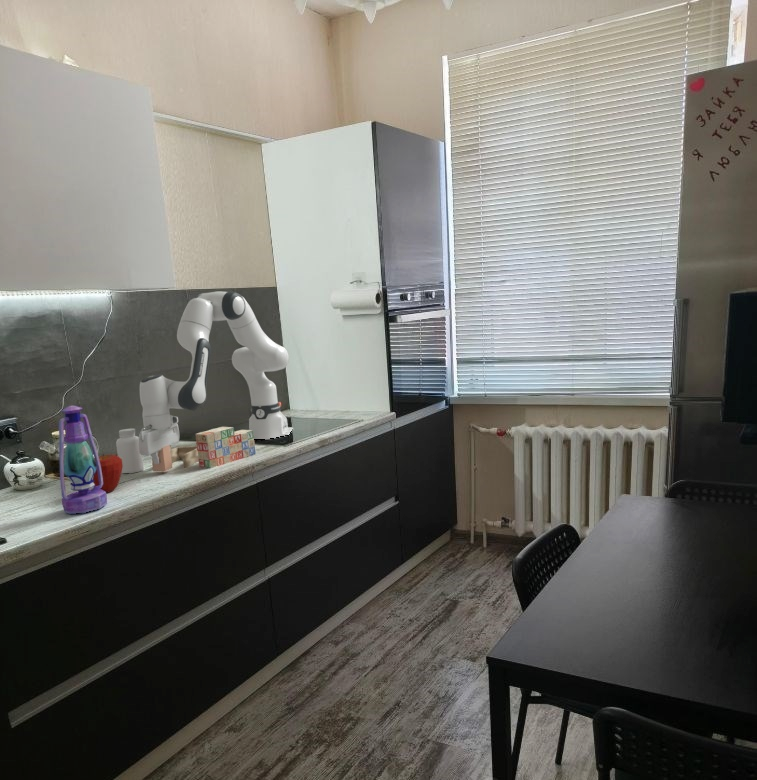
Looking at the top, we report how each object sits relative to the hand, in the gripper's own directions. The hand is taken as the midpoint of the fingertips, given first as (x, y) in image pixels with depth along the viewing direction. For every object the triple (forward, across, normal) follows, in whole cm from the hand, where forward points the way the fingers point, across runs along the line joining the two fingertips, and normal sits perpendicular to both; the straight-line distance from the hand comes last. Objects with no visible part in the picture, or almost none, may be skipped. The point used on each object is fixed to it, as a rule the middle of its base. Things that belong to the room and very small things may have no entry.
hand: (162, 461), depth 210 cm
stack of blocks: (+4, +15, -17) cm, 23 cm away
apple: (+4, -21, +7) cm, 23 cm away
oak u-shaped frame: (+4, +13, 0) cm, 13 cm away
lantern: (+4, -38, +2) cm, 38 cm away
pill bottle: (+4, +3, +14) cm, 15 cm away
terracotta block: (+3, 0, 0) cm, 3 cm away
